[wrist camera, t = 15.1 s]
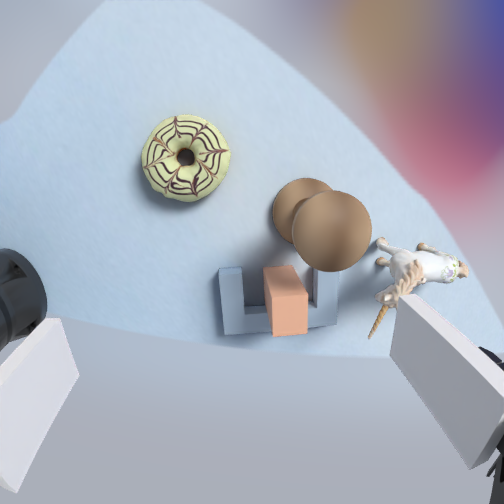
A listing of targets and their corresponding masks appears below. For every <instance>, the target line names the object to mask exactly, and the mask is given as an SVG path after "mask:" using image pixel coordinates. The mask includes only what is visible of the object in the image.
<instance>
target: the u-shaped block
mask: <svg viewBox="0 0 504 504" xmlns="http://www.w3.org/2000/svg"><path fill="white" fill-rule="evenodd" d="M219 284H220V295H221V305H222V314H223V324H224V333H225V335H233V334H247V333H260V332H272V330H271V326H270V322H269V318H268V313H267V309H266V305H260V306H247V307H244V296H243V281H242V269H241V267H233V268H219ZM338 291H339V271H338V272H323V271H319V270H317V269H313V301H308V328H312V327H320V326H329V325H336V324H337V309H338Z"/></svg>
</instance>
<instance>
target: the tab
mask: <svg viewBox="0 0 504 504" xmlns="http://www.w3.org/2000/svg"><path fill="white" fill-rule="evenodd" d="M263 279H264V301H265V305H266V309H267V313H268V318H269V322H270V326H271V330H272V335H273V337H278V336H288V335H298V334H307V328H308V293H307V291H306V290H305V288H304V286H303V284H302V282H301V281H300V279H299V277H298V275H297V273H296V272H295V270H294V268H293V266H292V265H287V266H274V267H263Z"/></svg>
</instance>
